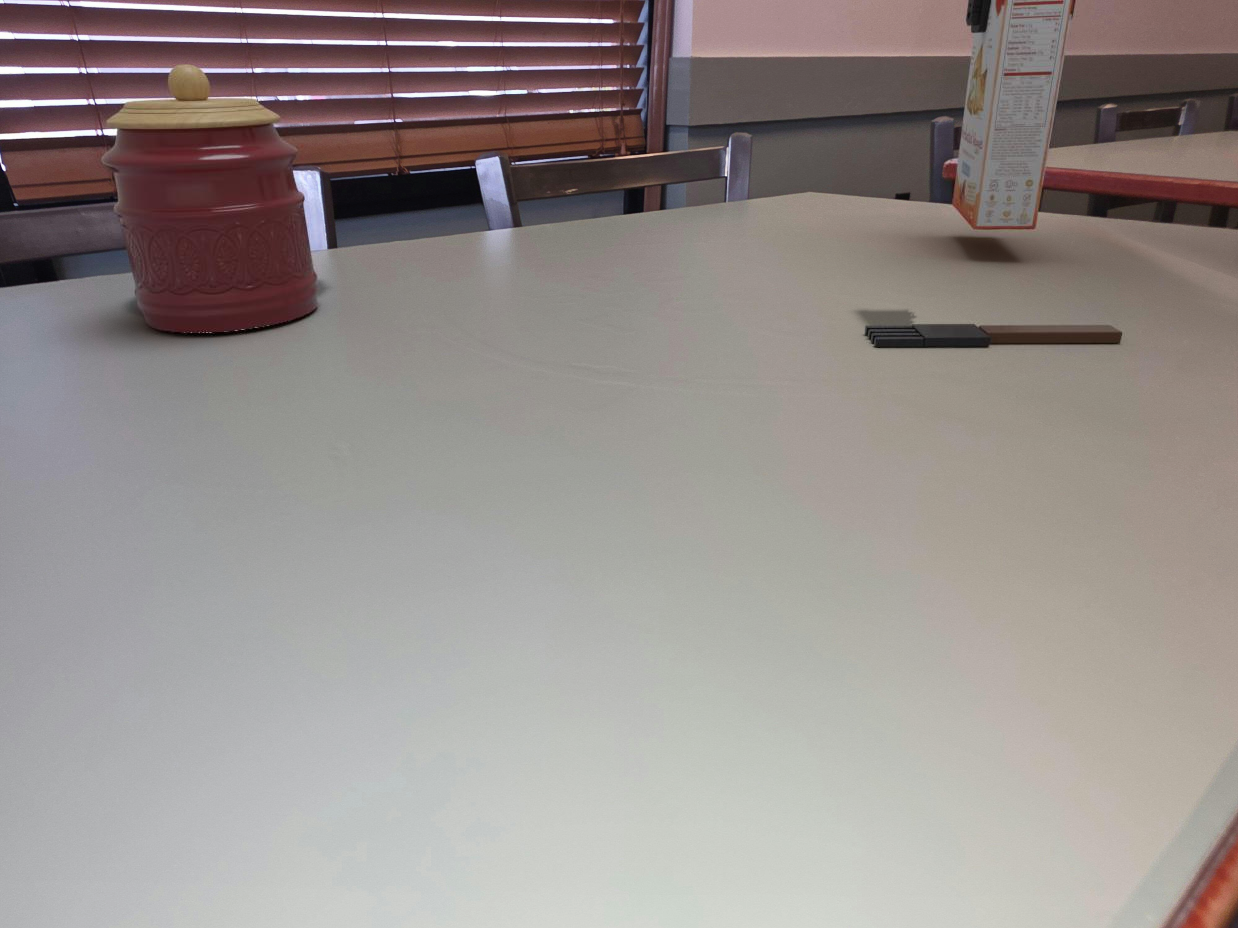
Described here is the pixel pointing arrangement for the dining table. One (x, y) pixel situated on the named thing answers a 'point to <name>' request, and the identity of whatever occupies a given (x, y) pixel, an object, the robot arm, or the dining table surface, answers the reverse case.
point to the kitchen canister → (210, 211)
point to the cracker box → (1010, 112)
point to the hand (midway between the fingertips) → (1017, 31)
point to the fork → (987, 334)
